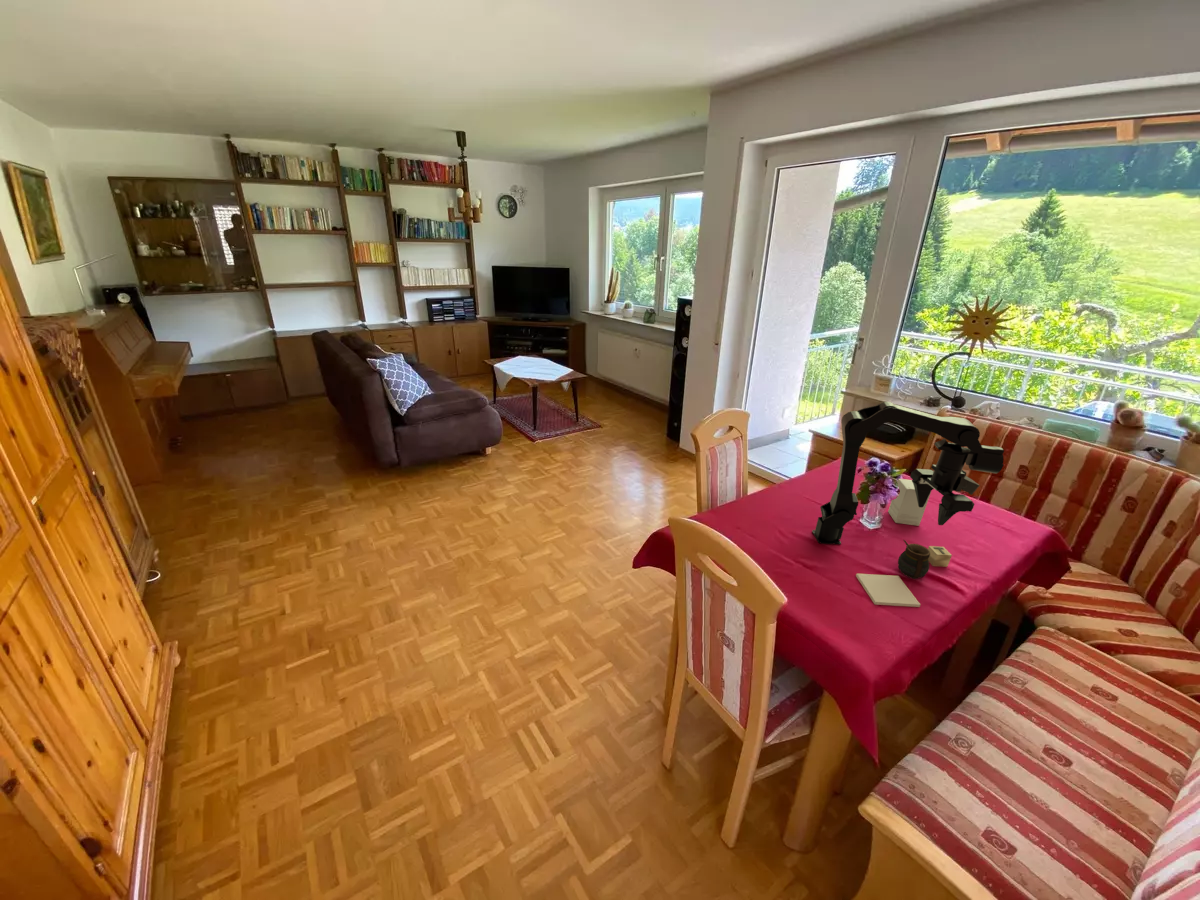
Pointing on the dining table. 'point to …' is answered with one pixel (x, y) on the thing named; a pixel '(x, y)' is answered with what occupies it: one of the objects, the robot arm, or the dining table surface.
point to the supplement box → (906, 505)
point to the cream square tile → (887, 590)
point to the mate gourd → (914, 561)
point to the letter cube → (939, 556)
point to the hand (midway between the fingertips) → (930, 515)
